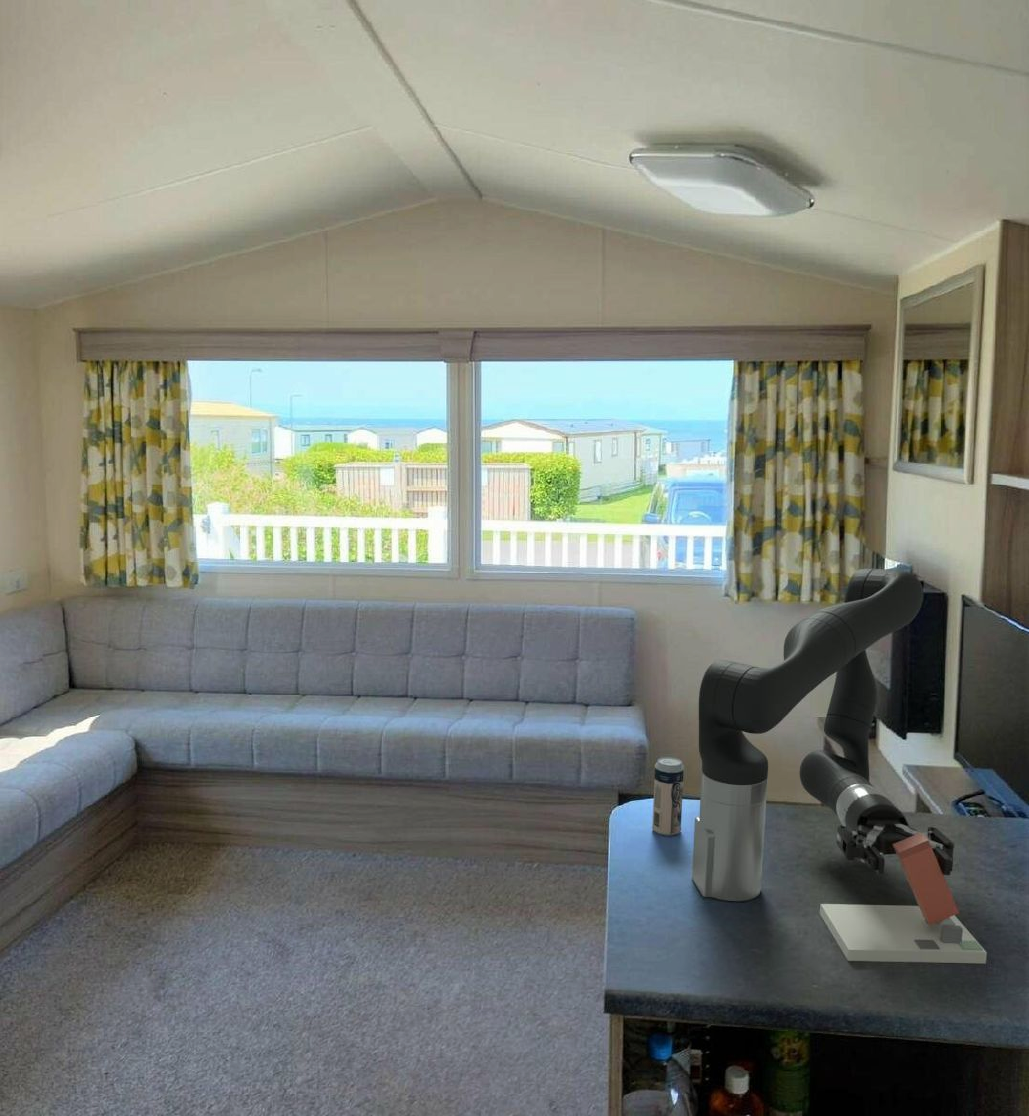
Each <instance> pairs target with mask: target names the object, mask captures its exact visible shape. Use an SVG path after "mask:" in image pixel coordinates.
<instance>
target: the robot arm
mask: <svg viewBox="0 0 1029 1116" xmlns="http://www.w3.org/2000/svg"><path fill="white" fill-rule="evenodd" d="M843 600H844V602H843V603H838V604H834V605H830V606H828V607H827V606H826V607H824V608H820V609H818V610H817V611H815V612H813V613H811V614H809V615H807V617H805V618H803V619H801V620H800V621H798V622H797V623H796V624H795V625H794V626H793V627H791V629H790V630H789V631H788V632H787V634H786V636H785V639H784V642H783V661H781V662H780V663H778V664H777V665H775V666H772V667H765V668H764V667H758V666H754V665H749V664H745V663H740V662H736V661H732V660H725V659H723V660H722V659H720V660H716V661H714V662H713V663H711V664H710V665H709V666H708V667H707V669H706V670H705V672H704V673H703V677H702V680H701V683H700V687H699V693H698V753H699V756H700V759H701V781H700V782H701V783H700V799H699V800H700V801H699V816H696V817H695V818H694V831H693V848H692V849H693V850H692V851H693V852H692V867H691V869H692V871H691V872H692V873H691V880H692V881H693V883H694V884H695V886H696V887H697V889H698V890H699V892H700V894H701V895H702V897H703V898H714V899H717V900H722V901H725V902H726V901H727V902H728V901H729V902H744V901H750V900H753V899H755V898H757V897H758V896H759V895H760V893H761V891H762V890H761V888H762V881H763V880H762V879H763V873H762V872H763V858H764V857H763V856H764V844H765V843H764V842H765V841H764V840H765V827H766V826H765V825H766V824H765V823H766V809H767V808H766V807H767V806H766V805H767V791H768V790H767V789H768V775H769V760H768V758H767V756H766V755H765V754H764V753H763V751H761V750H760V749H758V748H757V747H756V746H755V745H754V744H753V743H752V742H751V741H750V740H749V739H748V738H747V737H746V736H745V733H747V734H755V735H756V734H757V735H758V734H759V735H760V734H761V735H762V734H765V733H768V732H769V731H771V730H773V729H774V728H776V726H778V724H780V723H781V722H782V721H783V720H784V719H785V717H786V716H788V715H789V714H790V713H791V712H792V710H793V709H794V708H796V707H797V705H798V704H799V703H800V702H801V701H802V700H804V698H805V697H807V695H808V694H809V693H811V692H812V691H814V690H815V689H816V688H817V687H818V686H819V685H820V684H822V683H823V682H824V681H825V680H826V679H828V678H830V677H831V676H832V675H834V674H835V673H836V674H835V681H834V685H833V689H832V694H831V698H830V701H829V704H828V709H827V712H826V716H825V720H824V724H823V732H824V734H825V736H827V737H828V738H829V739H830V740H832V741H834V742H835V743H836V744H837V745H839V746H840V748H842V751H843V752H842V753H843V756H841V755H838V754H834V753H832V752H830V751H827V750H822V749H818V750H813V751H811V752H809V753H808V754H806V755H805V757H804V758H803V759H802V761H801V763H800V767H799V779H800V783H801V785H802V787H803V789H804V790H805V791H806V793H808V794H809V795H810V796H811V797H813V798H814V799H816V800H817V801H819V802H820V803H821V804H823V805H824V806H826V807H828V808H829V809H830V810H832V811H833V812H834V814H835V815H836V816H837V818H838V819H839V820H840V823H841V825H838V826H837V832H836V845H837V847H838V848H839V850H840V851H841V853H842V854H843V856H844V858H845V859H846V860H847V861H855V860H856V858H857V859H860V861H861V862H862V863H864V864H866V865H867V866H868V868H869V869H871V870H872V871H874V872H875V873H876V874H877V875H883V874H884V873H885V864H886V863H885V862H886V861H885V858H884V856H885V855H888V856H889V855H891V856H892V855H897V854H896V852H895V849H894V847H893V844H895V843H897V842H900V841H902V840H904V839H907V838H909V837H911V836H914V835H916V834H918V833H920V832H919V831H918V830H917V829H915V828H913V827H910V825H909V823H908V821H907V818H906V817H905V815H904V813H903V812H902V811H901V810H900V809H899V808H898V806H896V805H895V804H894V803H893V802H892V801H891V800H890V799H889V798H888V797H887V796H886V795H885V794H884V793H883V791H881V790H878V789H877V788H876V787H875V786H874V785H873V784H872V783H871V782H870V763H869V762H870V761H869V736H870V731H871V728H872V724H873V719H874V715H875V713H876V707H877V704H878V703H877V702H878V689H877V683H876V680H875V676H874V674H873V671H872V668H871V664H870V662H869V658H868V656H867V651H866V650H867V649H869V647H871V646H873V645H874V644H875V643H877V642H878V641H880V640H881V639H883V638H884V637H886V636H888V635H890V634H892V633H894V632H896V631H898V630H900V629H902V628H904V627H906V626H907V625H909V624H910V623H911V622H912V621H913V620H914V619H915V618H916V617H917V615H918V614H919V612H920V610H921V608H922V604H923V601H924V589H923V585H922V583H921V581H920V579H919V578H918V577H917V576H916V575H914V574H913V573H912V572H909V571H906V570H905V571H904V570H901V569H886V568H861V569H858V570H856V571H855V572H853V573H852V575H851V577H850V579H849V580H848V583H847V586H846V591H845V596H844V599H843ZM921 833H922V834H923V835H924V836H925V837H926V838H927V839H928V840H929V843H930V845H931V847H932V850H933V852H934V855H935V857H936V859H937V862H938V864H939V866H940V869H941V871H942V874H943V876H951V872H953V864H954V849H955V842H953V841H952V840H951V839H950V838H949V837H947V836H946V835H945V834H944V833H943V832H941V831H940V830H939V829H938V828H937V827H934V826H928V827H927V832H921Z"/></svg>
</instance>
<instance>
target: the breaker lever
mask: <svg viewBox="0 0 1029 1116" xmlns="http://www.w3.org/2000/svg"><path fill="white" fill-rule="evenodd" d="M922 833H923V832H919V833H918V834H916V835H914V836H911V837H909V838H907V839H904V840H902V841H900V842H897V843H895V844H893V847H894V849H895V852H896V854H895V855H896V856H897V859H898V860H899V863H900V865H901V867H902V870H903V872H904V875H905V877H906V879H907V882H908V884H909V887H910V889H911V891H912V893H913V895H914V898H915V901H916V903H917V906H919V908H920V910H921V912H922V915H923V917H924V918H925V919H926V920H927V922H928V923H929V924H930V925H932V924H935V923H937V924H938V926H939V927H940V928H941V926H942V925H945V926H956V925H955V923H954V922H953V921H952V920H951V918H950V917H951V916H954V915H955V916H956V915H959V914H960V911H959V909H958V907H957V905H956V903H955V900H954V897H953V895H952V893H951V890H950V888H949V886H948V883H947V881H946V879H945V875H943V874H942V871H941V869H940V866H939V864H938V862H937V859H936V857H935V855H934V852H933V850H932V847H931V845H930V843H929V840H928V839H927V838H926V837H925V836H924V835H923V834H922Z"/></svg>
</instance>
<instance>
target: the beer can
mask: <svg viewBox="0 0 1029 1116" xmlns="http://www.w3.org/2000/svg"><path fill="white" fill-rule="evenodd" d="M684 770H685V766H684V764H683V761H682V760H680V759H679V758H677V757H669V756H668V757H666V756H665V757H664V756H663V757H660V758H658V760H657V762H656V763H655V765H654V785H653V805H652V806H653V808H652V809H653V810H652V827H651V829H652V830H653V831H654V832H655V833H657V834H659V835H661V836H665V837H666V836H667V837H671V836H675V834H676V835H677V834H679V833H681V832H682V816H683V815H682V813H683V812H682V811H683V793H684V791H683V790H684Z"/></svg>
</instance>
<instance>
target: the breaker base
mask: <svg viewBox="0 0 1029 1116" xmlns="http://www.w3.org/2000/svg"><path fill="white" fill-rule="evenodd" d="M819 908H820V909H819V915H820V917H821V919H822V921H824V923H825V925H826V928H828V930H829V932H830V933H831V935H832V937H833V938H834V940H835V942H836V943H837V945H838V947H839V948H840V950H841V951H842V953H843V955H844V956H845V959H846V960H847V961H848V962H849V961H850V962H885V963H886V962H888V963H889V962H890V963H891V962H893V963H896V962H897V963H935V964H937V963H941V964H942V963H943V964H946V963H947V964H948V963H949V964H984V965H985V964H987V954H988V952H987V951H986V950H985V949H984V947H983V946H982V945H981V944H980V943H979V941H978V940H977V939H976V938H975V937H974V936H973V935H972V934H971V933H970V931H969V930H968V929H967V928H966V927H965V925H963V923H962V921H960V919H958V917H957V916H956V915H954V916H951V917H950V918H951V920H952V921H953V922H954V923H955V925H956V926H945V925H942V926H941V928H940V927H939V926H938V924H937V923H935V924H932V925H930V924H929V923H928V922H927V920H926V919H925V918H924V917H923V915H922V912H921V910H920V908H919V905H894V904H893V905H891V904H889V905H887V904H885V905H884V904H846V903H845V904H841V903H836V904H835V903H820V907H819Z"/></svg>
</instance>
